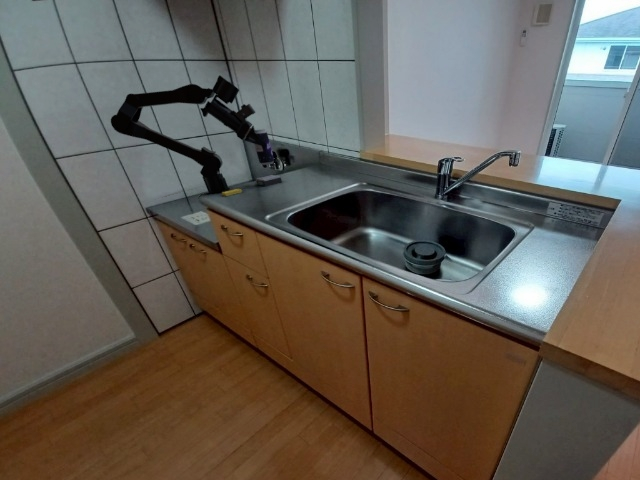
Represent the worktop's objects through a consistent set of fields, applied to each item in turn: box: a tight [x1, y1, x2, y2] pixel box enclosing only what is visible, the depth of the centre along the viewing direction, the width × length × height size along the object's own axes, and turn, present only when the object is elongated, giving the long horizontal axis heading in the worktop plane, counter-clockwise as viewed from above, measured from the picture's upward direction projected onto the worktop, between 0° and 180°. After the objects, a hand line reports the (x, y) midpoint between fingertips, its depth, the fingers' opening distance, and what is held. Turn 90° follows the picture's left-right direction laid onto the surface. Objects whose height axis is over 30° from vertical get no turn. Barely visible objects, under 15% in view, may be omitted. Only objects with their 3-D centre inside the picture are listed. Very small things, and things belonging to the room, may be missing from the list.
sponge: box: [221, 188, 243, 197], centre depth 119 cm, size 6×4×1 cm, turn 136°
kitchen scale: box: [255, 174, 283, 187], centre depth 129 cm, size 7×7×2 cm
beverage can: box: [253, 128, 275, 166], centre depth 124 cm, size 6×6×12 cm
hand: (266, 145), depth 124 cm, fingers closed on beverage can, 5 cm apart
